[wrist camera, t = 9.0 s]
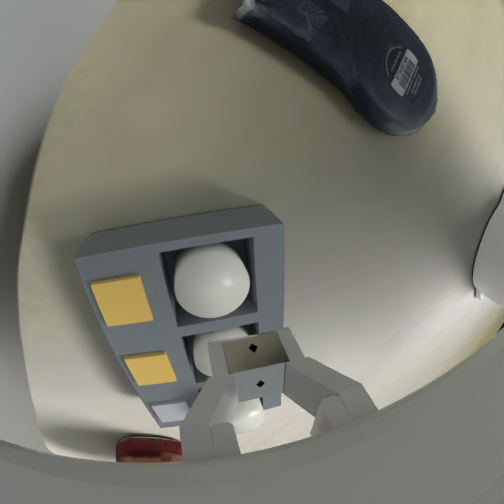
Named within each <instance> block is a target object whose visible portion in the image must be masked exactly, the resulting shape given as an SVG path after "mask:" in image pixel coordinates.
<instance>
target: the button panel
mask: <svg viewBox="0 0 504 504" xmlns="http://www.w3.org/2000/svg"><path fill="white" fill-rule="evenodd" d="M225 241H229V242H230V243H231V244H232V245H233V246H234V247H235V249H236V250H237V252H238V254H239V256H240V258H241V260H242V262H243V264H244V266H245V268H246V270H247V272H248V275H249V280H250V287H249V292H248V294H247V297H246V298H245V300H244V301H243V303H242V304H241V305H240V306H239V307H238V308H237V309H235V310H234V311H232V312H231V313H229V314H227V315H224V316H221V317H216V318H203V317H198V316H195V315H193V314H191V313H189V312H187V311H186V310H185V309H184V308H183V307H182V306H181V305H180V304H179V302H178V300H177V298H176V295H175V289H174V261H175V257H176V254H177V252H178V251H179V249H183V248H189V247H195V246H201V245H207V244H213V243H219V242H225ZM74 262H75V265H76V268H77V271H78V274H79V276H80V279H81V282H82V284H83V287H84V289H85V292H86V294H87V297H88V299H89V302H90V304H91V306H92V309H93V311H94V313H95V315H96V318H97V320H98V322H99V324H100V326H101V328H102V330H103V333H104V335H105V337H106V339H107V341H108V343H109V345H110V347H111V348H112V350H113V352H114V354H115V356H116V358H117V360H118V362H119V363H120V365H121V367H122V369H123V370H124V372H125V374H126V376H127V377H128V379H129V381H130V382H131V384H132V386H133V387H134V389H135V391H136V392H137V394H138V395H139V397H140V398H141V400H142V402H143V403H144V405H145V406H146V408H147V409H148V411H149V412H150V413H151V415H152V416H153V418H154V419H155V421H156V422H157V423H158V425H159V426H160V428H164V427H174V426H180V425H181V423H182V422H183V420H184V418H185V417H186V415H187V413H188V412H189V410H190V408H191V407H192V405H193V403H194V402H195V400H196V398H197V396H198V395H199V393H200V391H201V390H202V388H203V386H204V385H205V383H206V381H207V379H208V378H210V377H211V376H207V375H205V374H203V373H201V372H200V371H199V370H198V369H197V367H196V365H195V362H194V355H193V348H192V340H191V335H195V334H201V333H206V332H212V331H217V330H222V329H228V328H233V327H238V326H242V325H245V326H246V329H247V331H248V334H249V335H254V334H259V333H264V332H268V331H273V330H274V331H275V330H278V329H282V328H283V299H284V241H283V223H282V222H281V221H280V220H279V219H278V218H277V217H276V216H275V215H274V214H273V213H272V212H271V211H269V210H268V209H267V208H266V207H265V206H264V205H257V206H250V207H242V208H235V209H228V210H221V211H214V212H208V213H201V214H195V215H189V216H182V217H176V218H171V219H165V220H159V221H153V222H148V223H142V224H137V225H132V226H126V227H121V228H116V229H111V230H106V231H101V232H97V233H92V234H90V236H89V237H88V238H87V240H86V241H85V243H84V244H83V245H82V247H81V248H80V250H79V251H78V253H77V254H76V256H75V257H74ZM259 399H260V401H261V404H262V407H263V410H265V409H269V408H273V407H277V406H280V405H281V393H280V394H275V395H271V396H266V397H261V398H259Z"/></svg>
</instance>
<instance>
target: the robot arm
mask: <svg viewBox="0 0 504 504" xmlns="http://www.w3.org/2000/svg"><path fill="white" fill-rule="evenodd" d="M473 284H474V286H475V287H476V298H478V299H480V300H482V299H483V298H484V297H485V296H486V297H487V298H489V299H490V300H492V301H493V302H495V303H496V304H498V305H499V306H501V307H502V308H504V193H503V196H502V199H501V202H500V204H499V206H498V207H497V209H496V210H495V212H494V214H493V215H492V217H491V219H490V221H489V223H488V226H487V228H486V230H485V233H484V235H483V238H482V241H481V243H480V246H479V250H478V253H477V256H476V260H475V265H474V270H473ZM207 347H208V353H209V359H210V365H211V371H212V377H210V378H208V379H207V381H206V383H205V385H204V386H203V388H202V390H201V391H200V393H199V395H198V396H197V398H196V400H195V402H194V403H193V405H192V407H191V408H190V410H189V412H188V413H187V415H186V417H185V418H184V420H183V422H182V423H181V425H180V427H179V428H180V439H181V448H182V456H183V462H167V463H124V462H108V461H96V460H88V459H80V458H73V457H67V456H61V455H56V454H51V453H46V452H42V451H38V450H33V449H30V448H26V447H22V446H19V445H15V444H12V443H9V442H6V441H3V440H0V504H504V328H503V329H501V330H500V331H499V332H498V333H497V334H496V335H495V336H494V337H492V338H491V339H490V340H489V341H488V342H486V343H485V344H484V345H483V346H481V347H480V348H479V349H478V350H476V351H475V352H474V353H472V354H471V355H470V356H468V357H467V358H466V359H464V360H463V361H461V362H460V363H459V364H457V365H456V366H454V367H453V368H451V369H450V370H448V371H447V372H445V373H444V374H442V375H441V376H439V377H438V378H436V379H435V380H433V381H431V382H430V383H428V384H426V385H425V386H423V387H421V388H420V389H418V390H416V391H414V392H413V393H411V394H409V395H407V396H405V397H403V398H402V399H400V400H398V401H396V402H394V403H392V404H390V405H388V406H386V407H384V408H382V409H380V410H378V409H377V407H376V406H375V404H374V403H373V401H372V399H371V398H370V396H369V395H368V393H367V392H366V390H365V388H364V387H363V385H362V384H361V383H359V382H357V381H355V380H353V379H351V378H349V377H347V376H345V375H343V374H341V373H339V372H337V371H335V370H333V369H331V368H329V367H327V366H325V365H323V364H322V363H320V362H318V361H316V360H314V359H312V358H310V357H306V358H305V357H304V355H303V353H302V351H301V349H300V347H299V345H298V343H297V341H296V339H295V338H294V336H293V334H292V332H291V330H290V328H288V327H286V328H282V329H278V330H275V331H274V330H273V331H268V332H264V333H259V334H254V335H249V336H244V337H238V338H231V339H224V340H222V342H221V340H219V341H212V342H207ZM280 393H284V394H285V395H286V396H287V397H289V398H290V399H291V400H292V401H294V402H295V403H296V404H298V405H299V406H300V407H302V408H303V409H305V410H306V411H307V412H309V413H310V414H311V415H313V416H314V417H316V418H315V421H314V424H313V427H312V429H311V432H310V434H311V437H308V438H305V439H302V440H298V441H295V442H291V443H288V444H284V445H280V446H276V447H272V448H268V449H264V450H259V451H254V452H249V453H244V454H241V452H240V449H239V445H238V441H237V438H236V434H235V430H234V426H233V424H231V422H232V419H233V417H234V414H235V412H236V409H237V407H238V404H239V402H243V401H248V400H252V399H257V398H261V397H266V396H271V395H275V394H280Z"/></svg>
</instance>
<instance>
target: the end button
mask: <svg viewBox="0 0 504 504" xmlns="http://www.w3.org/2000/svg"><path fill="white" fill-rule="evenodd" d="M249 287H250V280H249V275H248V272H247V270H246V268H245V266H244V264H243V262H242V260H241V258H240V256H239V254H238V252H237V250H236V249H235V247H234V246H233V245H232V244H231V243H230V242H229V241H225V242H219V243H213V244H207V245H201V246H195V247H189V248H183V249H179V251H178V252H177V254H176V257H175V261H174V289H175V295H176V298H177V300H178V302H179V304H180V305H181V306H182V307H183V308H184V309H185V310H186V311H187V312H189V313H191V314H193V315H195V316H198V317H203V318H216V317H221V316H224V315H227V314H229V313H231V312H232V311H234V310H235V309H237V308H238V307H239V306H240V305H241V304H242V303H243V301H244V300H245V298H246V297H247V294H248V292H249Z"/></svg>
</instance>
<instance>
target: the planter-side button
mask: <svg viewBox="0 0 504 504" xmlns="http://www.w3.org/2000/svg"><path fill="white" fill-rule="evenodd" d="M265 419H266V415H265V412H264V410H263V407H262V404H261V401H260V399H259V398H257V399H252V400H248V401H243V402H239V404H238V407H237V409H236V412H235V414H234V417H233V419H232V422H231V424H233V426H234V430H235V434H241V433H245V432H249V431H251V430H254V429H256V428H257V427H259V426H260V425H262V424H263V423H264V421H265Z"/></svg>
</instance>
